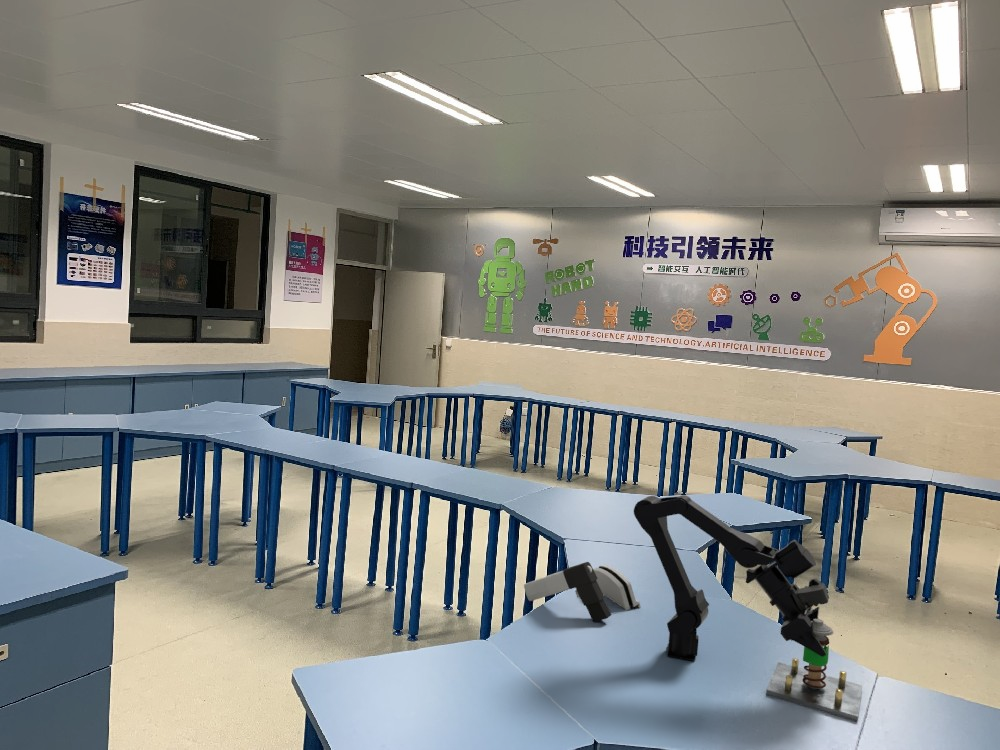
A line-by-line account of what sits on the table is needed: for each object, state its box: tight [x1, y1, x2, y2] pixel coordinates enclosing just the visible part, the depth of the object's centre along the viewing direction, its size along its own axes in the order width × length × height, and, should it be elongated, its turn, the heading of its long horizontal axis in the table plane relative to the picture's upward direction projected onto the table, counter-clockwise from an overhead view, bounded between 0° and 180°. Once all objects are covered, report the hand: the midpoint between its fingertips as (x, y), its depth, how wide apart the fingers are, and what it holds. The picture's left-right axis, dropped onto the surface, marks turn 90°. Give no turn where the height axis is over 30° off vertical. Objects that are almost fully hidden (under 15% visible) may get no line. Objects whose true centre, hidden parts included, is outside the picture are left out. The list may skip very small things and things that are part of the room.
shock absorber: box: [802, 618, 834, 689], centre depth 162 cm, size 6×6×15 cm
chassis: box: [765, 657, 863, 723], centre depth 162 cm, size 18×16×4 cm
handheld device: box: [523, 561, 612, 623], centre depth 199 cm, size 4×22×15 cm, turn 56°
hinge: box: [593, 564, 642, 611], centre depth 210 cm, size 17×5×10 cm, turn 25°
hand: (826, 649), depth 161 cm, fingers open, 7 cm apart
